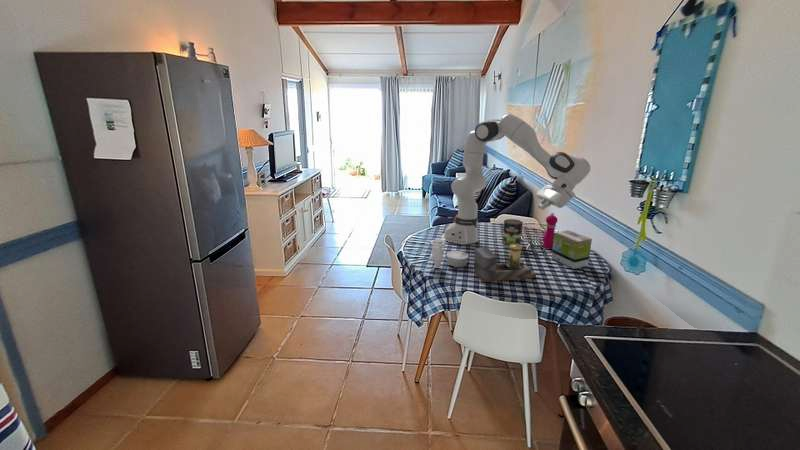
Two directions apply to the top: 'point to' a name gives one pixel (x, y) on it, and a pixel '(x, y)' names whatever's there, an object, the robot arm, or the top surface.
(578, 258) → the tea box
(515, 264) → the knob
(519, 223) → the coffee can
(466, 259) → the ramekin
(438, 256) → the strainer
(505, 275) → the rail mount
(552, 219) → the pepper mill
